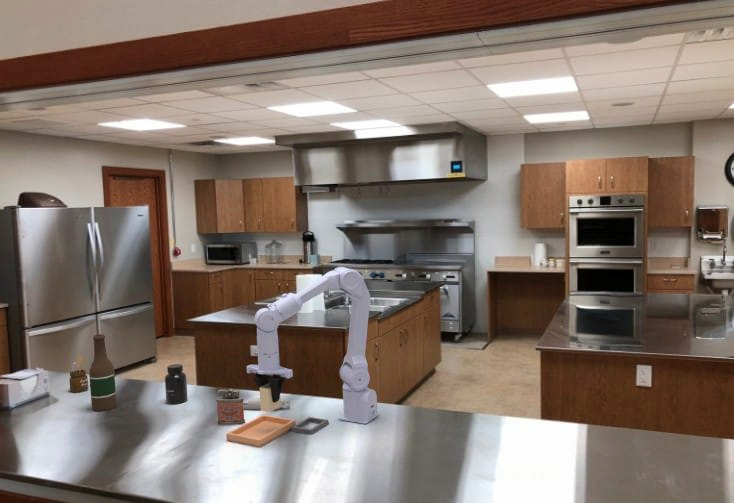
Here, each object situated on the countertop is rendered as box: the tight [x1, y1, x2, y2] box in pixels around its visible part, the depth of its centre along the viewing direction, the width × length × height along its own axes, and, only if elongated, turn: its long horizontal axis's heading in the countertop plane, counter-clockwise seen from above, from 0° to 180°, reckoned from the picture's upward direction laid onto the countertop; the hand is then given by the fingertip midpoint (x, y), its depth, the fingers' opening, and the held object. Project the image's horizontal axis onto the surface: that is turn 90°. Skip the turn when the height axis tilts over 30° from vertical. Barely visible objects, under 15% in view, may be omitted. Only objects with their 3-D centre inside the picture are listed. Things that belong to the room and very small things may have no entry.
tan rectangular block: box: [259, 383, 282, 413], centre depth 163 cm, size 3×5×6 cm, turn 150°
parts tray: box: [225, 414, 297, 448], centre depth 164 cm, size 12×16×2 cm
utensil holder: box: [68, 355, 89, 394], centre depth 212 cm, size 6×6×12 cm
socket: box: [291, 416, 329, 436], centre depth 166 cm, size 7×9×1 cm
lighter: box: [215, 388, 246, 426], centre depth 173 cm, size 8×3×10 cm, turn 84°
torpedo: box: [243, 397, 291, 411], centre depth 184 cm, size 18×5×7 cm, turn 81°
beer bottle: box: [88, 333, 117, 412], centre depth 191 cm, size 8×8×24 cm
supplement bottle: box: [164, 363, 188, 405], centre depth 195 cm, size 7×7×12 cm
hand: (270, 400), depth 163 cm, fingers closed on tan rectangular block, 3 cm apart
